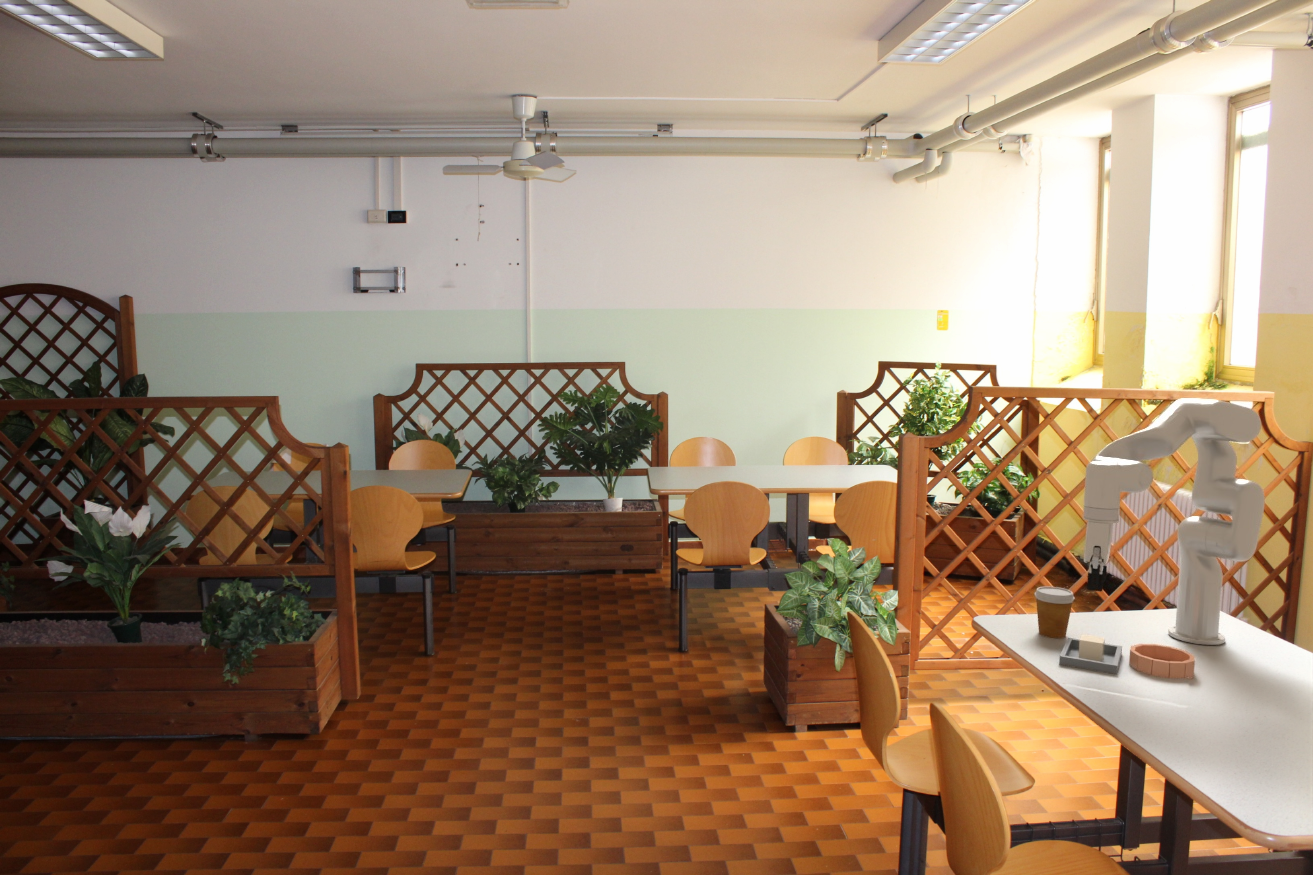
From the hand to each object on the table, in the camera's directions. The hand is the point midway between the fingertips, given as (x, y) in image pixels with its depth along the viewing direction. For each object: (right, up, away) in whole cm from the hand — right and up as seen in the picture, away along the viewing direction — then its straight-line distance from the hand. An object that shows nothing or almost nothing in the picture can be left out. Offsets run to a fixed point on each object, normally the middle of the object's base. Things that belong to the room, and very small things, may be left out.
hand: (1096, 585), depth 210 cm
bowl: (+13, -19, -3) cm, 23 cm away
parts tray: (0, -18, +2) cm, 19 cm away
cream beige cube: (0, -18, +2) cm, 18 cm away
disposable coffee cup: (-1, -17, +21) cm, 27 cm away
